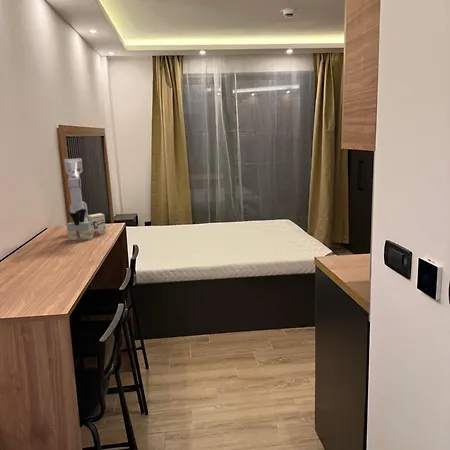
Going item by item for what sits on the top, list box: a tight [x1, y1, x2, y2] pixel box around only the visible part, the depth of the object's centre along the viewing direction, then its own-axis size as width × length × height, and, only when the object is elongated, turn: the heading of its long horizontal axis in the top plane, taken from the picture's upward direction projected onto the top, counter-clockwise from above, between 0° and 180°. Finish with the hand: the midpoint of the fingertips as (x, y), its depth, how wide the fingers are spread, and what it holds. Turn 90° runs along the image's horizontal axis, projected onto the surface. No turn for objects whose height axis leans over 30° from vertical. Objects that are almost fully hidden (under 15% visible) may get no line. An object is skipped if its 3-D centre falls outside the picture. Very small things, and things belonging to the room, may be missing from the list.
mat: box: [65, 235, 98, 242], centre depth 244 cm, size 11×15×1 cm
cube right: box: [81, 228, 95, 240], centre depth 242 cm, size 5×5×5 cm
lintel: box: [66, 222, 91, 232], centre depth 242 cm, size 12×4×4 cm, turn 88°
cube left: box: [66, 231, 81, 240], centre depth 243 cm, size 5×5×5 cm
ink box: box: [86, 212, 107, 236], centre depth 253 cm, size 8×5×12 cm, turn 134°
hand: (79, 223), depth 241 cm, fingers open, 7 cm apart
